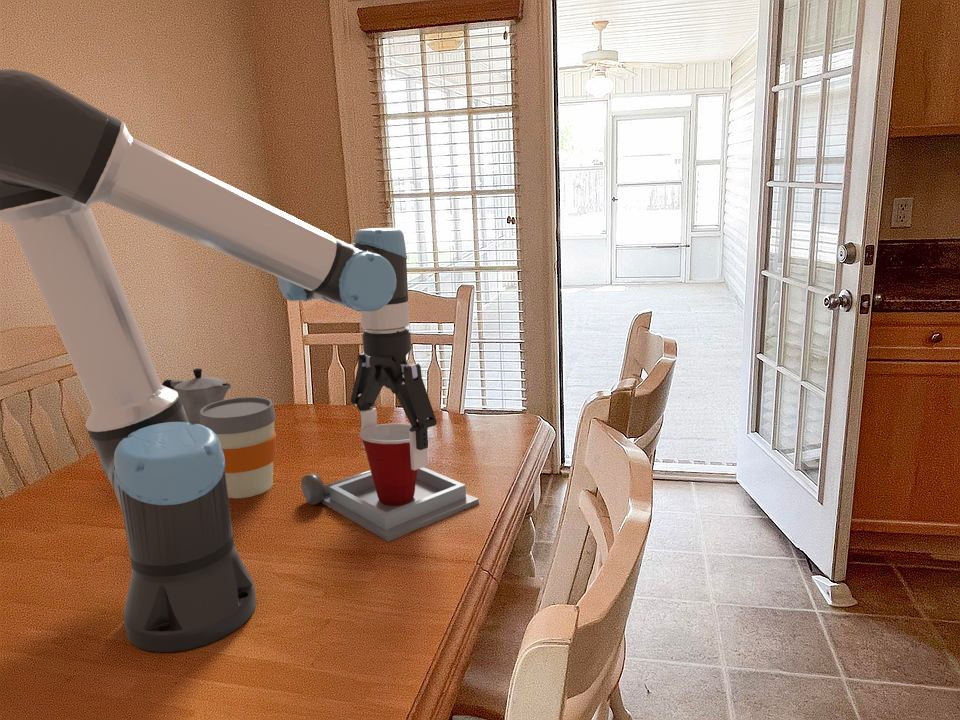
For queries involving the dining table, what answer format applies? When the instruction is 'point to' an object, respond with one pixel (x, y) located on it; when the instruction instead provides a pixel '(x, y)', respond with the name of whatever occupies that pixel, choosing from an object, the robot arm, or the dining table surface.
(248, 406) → the reusable coffee cup
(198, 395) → the coffeepot
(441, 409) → the dining table surface
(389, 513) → the tray
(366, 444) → the plastic cup
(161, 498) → the robot arm
